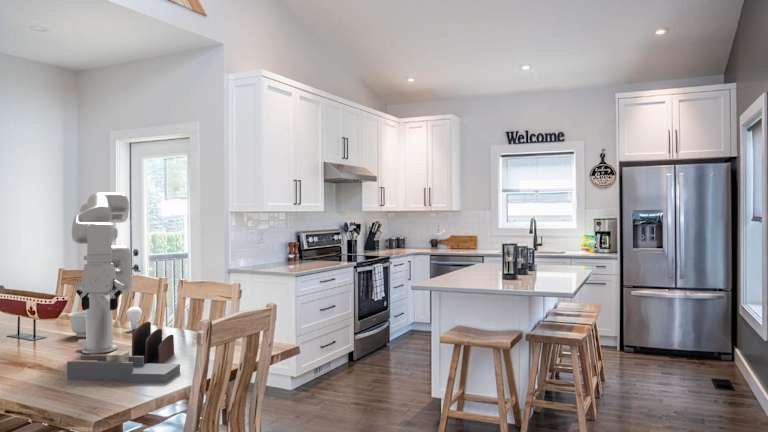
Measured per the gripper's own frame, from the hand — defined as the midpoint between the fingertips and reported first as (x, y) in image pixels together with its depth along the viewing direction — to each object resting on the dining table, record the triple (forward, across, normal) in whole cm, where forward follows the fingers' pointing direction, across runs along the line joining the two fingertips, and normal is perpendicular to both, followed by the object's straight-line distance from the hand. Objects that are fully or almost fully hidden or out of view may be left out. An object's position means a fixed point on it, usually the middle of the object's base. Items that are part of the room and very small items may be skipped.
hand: (99, 309), depth 189 cm
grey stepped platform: (+23, +9, -1) cm, 24 cm away
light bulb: (+22, -24, +72) cm, 79 cm away
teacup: (+22, -40, +58) cm, 74 cm away
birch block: (+20, +7, -1) cm, 21 cm away
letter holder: (+23, +10, +20) cm, 32 cm away
